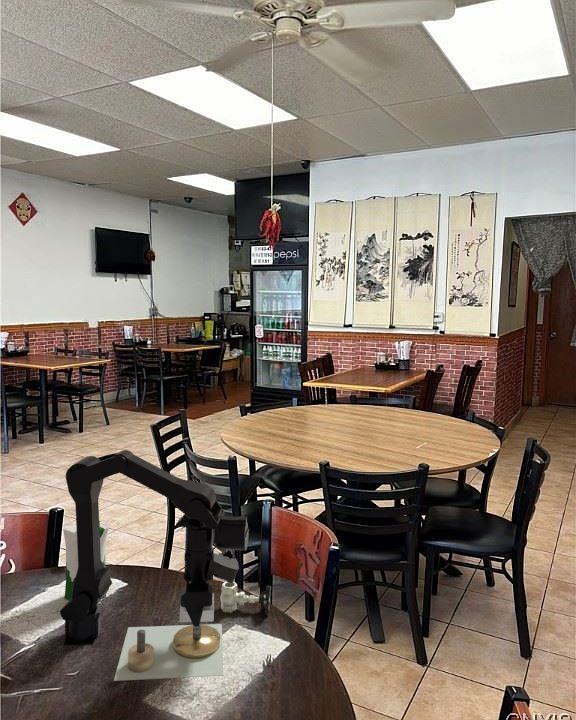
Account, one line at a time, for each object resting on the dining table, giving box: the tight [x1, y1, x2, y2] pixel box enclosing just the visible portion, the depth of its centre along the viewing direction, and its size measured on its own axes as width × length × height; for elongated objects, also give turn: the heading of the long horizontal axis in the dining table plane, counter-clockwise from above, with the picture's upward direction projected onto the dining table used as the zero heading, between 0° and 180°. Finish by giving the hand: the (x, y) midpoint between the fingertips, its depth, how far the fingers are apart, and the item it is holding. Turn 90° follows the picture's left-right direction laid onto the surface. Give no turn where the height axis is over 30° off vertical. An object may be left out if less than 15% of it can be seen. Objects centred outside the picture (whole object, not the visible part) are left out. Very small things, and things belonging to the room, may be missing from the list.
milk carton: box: [62, 520, 109, 602], centre depth 136 cm, size 9×9×20 cm
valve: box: [219, 581, 272, 616], centre depth 134 cm, size 7×7×12 cm
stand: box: [128, 630, 154, 673], centre depth 112 cm, size 5×5×7 cm
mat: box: [113, 623, 224, 682], centre depth 117 cm, size 21×18×1 cm
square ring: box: [179, 592, 215, 623], centre depth 119 cm, size 7×7×2 cm
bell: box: [173, 624, 220, 659], centre depth 119 cm, size 10×10×4 cm
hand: (196, 616), depth 119 cm, fingers closed on square ring, 7 cm apart
